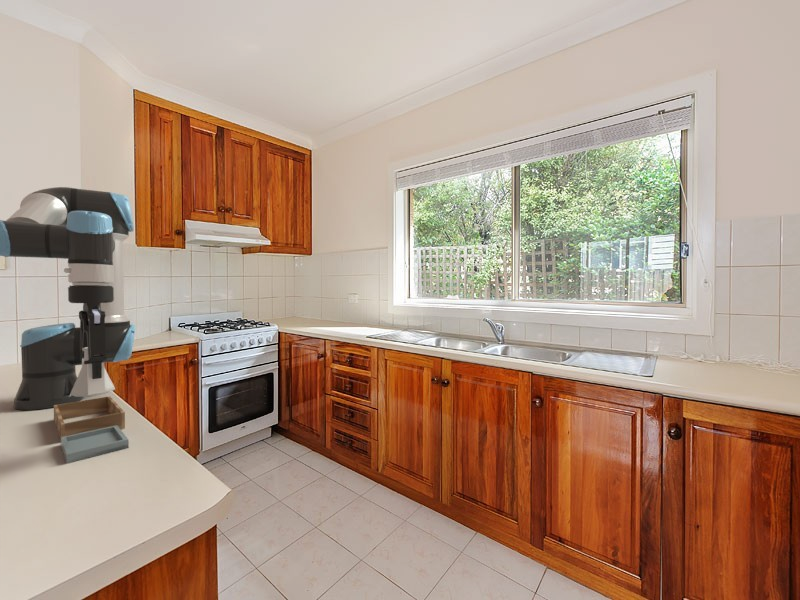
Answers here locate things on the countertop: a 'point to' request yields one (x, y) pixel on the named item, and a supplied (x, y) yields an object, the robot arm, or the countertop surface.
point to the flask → (82, 383)
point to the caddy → (86, 409)
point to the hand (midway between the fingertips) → (93, 389)
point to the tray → (93, 443)
